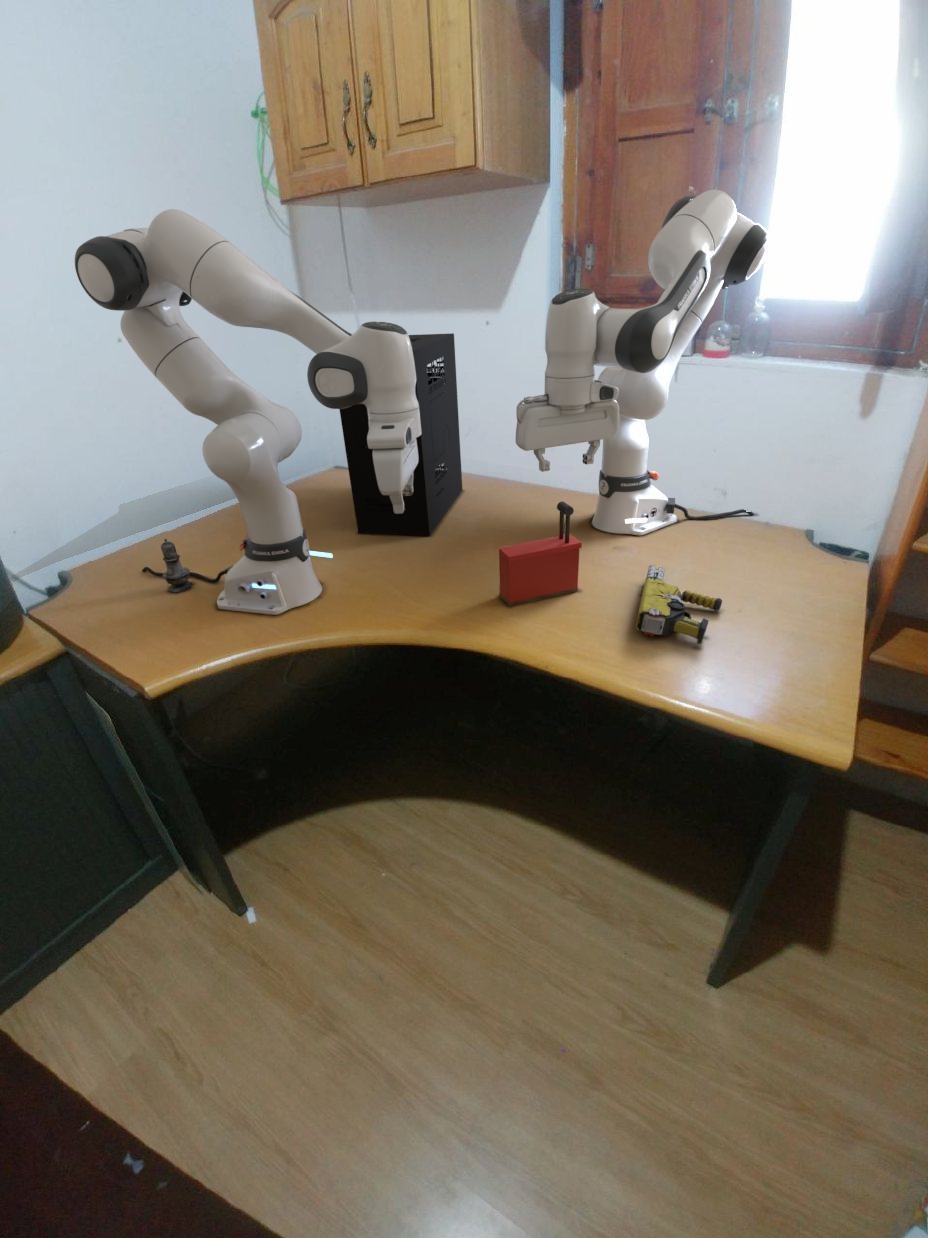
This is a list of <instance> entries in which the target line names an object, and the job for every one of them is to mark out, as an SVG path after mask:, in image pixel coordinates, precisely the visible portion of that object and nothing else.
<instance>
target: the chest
mask: <svg viewBox="0 0 928 1238" xmlns="http://www.w3.org/2000/svg"><path fill="white" fill-rule="evenodd" d="M579 565H580V548H579V549H574V550H569V551H564V552H559V553H554V554H549V555H544V556H539V557H534V558H529V559H524V560H519V561H514V562H508V561H507V560H506V559H505V558H503V557H502V556H501V555H500V554H499V553H498V569H499V570H498V572H499V597H500V598H501V599H502V600H503V602H504V603H505V604H506V605H507V606H508V607H509V608H510V607H513V606H518V605H522V604H527V603H532V602H536V601H540V600H544V599H549V598H554V597H558V596H563V595H568V594H572V593H577V592H578V591H579V588H578V585H579V569H580V566H579Z"/></svg>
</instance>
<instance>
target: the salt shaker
mask: <svg viewBox="0 0 928 1238" xmlns="http://www.w3.org/2000/svg"><path fill="white" fill-rule="evenodd" d="M163 541H164V542H163V543H161V545H160V549H161V552H162V555H163V558H162V561H163V562H165V567H166V571H165V572H163V573H164V574H163V575H162V576H161V577H162V578H163V579H164V580H165V582H166V583H168V585H170V586H168V591H169V592H171V593H180V592H184V591H187V590H190V589H191V588H192V587H193V585H194V584H193V582H192V581H189V579H190V576H189V575H190V574H189V572H191V569H190V568H188V567H184V566H183V565H182V563H181V560H180V557H181V555H180V554H178V552H177V548H176V546H175V543H174V542H172V541H169V540H168V539H167V538H164V540H163Z"/></svg>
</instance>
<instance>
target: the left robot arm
mask: <svg viewBox="0 0 928 1238" xmlns="http://www.w3.org/2000/svg"><path fill="white" fill-rule="evenodd" d="M74 269H75V273H76V276H77V279H78V282H79V283H80V285H81V287H82V289H83V290H84V292H85V294H87V296H88V297H89V298H90V299H91V300H92V301H93V302H95V303H96V304H97V305H98V306H100V307H102V308H104V309H106V310H108V311H109V310H110V311H120V312H121V311H123V312H122V315H121V318H120V325H119V326H120V331H121V333H122V335H123V337H124V338H125V340H126V342H127V343H128V344H129V346H130V347H131V349H132V350H133V352H134V353H135V354H136V355H137V358H138V359H140V361H141V362H142V363H143V365H144V366H145V368H147V369H148V370H149V372H150V373H151V374H152V375H153V376H154V377H155V378H156V379H157V380H158V381H159V383H160V384H161V385H163V387H165V389H166V390H167V391H168V392H169V393H170V394H171V395H172V397H174V398H175V399H176V400H177V402H179V404H180V405H181V406H182V407H183V408H184V409H185V410H187V412H189V413H191V414H193V415H194V416H198V417H202V418H204V419H206V420H208V421H210V422H212V423H214V424H215V425H217V426H215V427H214V428H213V429H212V430H211V431H210V432H209V433H208V434H207V435H206V436H205V438H204V440H203V442H202V446H201V450H202V457H203V460H204V463H205V465H206V466H207V468H208V469H209V470H210V472H211V473H212V474H213V475H214V476H216V477H217V478H218V479H220V480H223V482H225V483H226V484H227V485H228V486H229V488H230V489H231V491H232V492H233V495H234V496H235V497H236V499H237V501H238V503H239V507H240V509H241V512H242V516H243V519H244V523H245V527H246V530H247V531H246V532H247V534H246V537H245V538H244V539H243V540H242V541H241V542H242V543H240V545H239V546H238V548H240V549H239V551H240V552H242V551H243V550H244V554H243V555H242V556H241V557H240V558H239V559H238V560H237V561H236V562H235V563H234V564H232V565H230V566H228V567H227V568H224V570H222V571H220V572H219V573H218V574H217V575H216V577H215V578H209V577H207V576H204V575H203V574H200V573H197V572H193V571H190V572H189V574H190V575H189V577H190V576H191V577H196V578H198V579H201V580H203V581H205V582H208V583H211V584H213V583H214V584H215V583H218V582H219V581H220V580H221V578H222V577H223V576H224V575H225V576H224V582H223V583H224V586H223V588H224V589H223V590H222V591H221V592H220V593H219V595H218V596H217V599H216V607H217V609H219V610H226V611H235V612H244V613H252V614H253V613H254V614H263V615H272V616H277V615H281V614H282V613H285V612H286V611H288V610H291V609H294V608H297V607H301V606H303V605H306V604H309V603H310V602H313V601H314V600H315V599H317V598H318V597H320V595H321V594H322V592H323V586H322V584H321V582H320V580H319V578H318V577H317V574H316V571H315V569H314V567H313V564H312V560H311V558H310V557H311V556H315V557H323V558H328V559H329V558H330V559H333V556H334V555H333V553H331V552H322V551H314V550H310V544H309V540H308V537H307V533H306V530H305V528H303V522H302V518H301V512H300V508H299V502H298V498H297V495H296V493H294V491H292V490H291V489H290V488H287V487H286V485H285V483H284V481H283V479H282V477H281V475H280V471H279V467H278V465H279V464H280V463H281V462H283V461H285V460H286V459H288V458H289V457H290V456H291V455H293V453H294V452H295V451H296V449H297V448H298V446H299V445H300V443H301V441H302V439H303V437H302V436H303V429H302V424H301V421H300V420H299V418H298V417H297V415H296V414H295V413H294V412H293V411H292V410H291V409H289V408H288V407H285V406H283V405H280V404H278V403H275V402H273V401H271V400H270V399H268V398H267V397H266V396H264V395H262V394H261V393H260V392H258V391H257V390H256V389H254V388H253V387H251V386H250V385H249V384H248V383H246V382H245V381H244V380H242V379H241V378H240V377H239V376H237V375H236V374H235V373H234V372H233V371H232V370H231V369H230V368H229V367H228V366H227V365H226V364H225V363H224V362H223V361H222V359H221V358H220V357H219V356H218V355H217V354H216V353H215V352H214V351H213V350H212V349H211V348H210V347H209V346H208V344H206V342H205V341H204V340H203V339H202V338H201V337H200V336H199V335H198V334H197V333H196V332H195V331H194V329H192V327H190V325H189V324H188V322H187V321H186V320H185V319H184V317H183V315H182V312H181V308H180V307H186V306H188V305H190V303H191V302H192V300H193V301H194V302H195V303H196V304H197V305H199V306H200V307H202V308H203V309H204V310H205V311H207V312H208V313H210V315H212V316H214V317H216V318H218V319H220V320H221V321H223V322H224V323H227V324H229V325H231V326H234V327H241V328H243V327H244V328H252V329H262V330H263V329H264V330H269V331H274V332H278V333H282V334H285V335H286V336H287V335H288V336H289V337H291V338H292V339H295V340H296V341H298V342H299V343H301V344H302V345H304V347H307V348H308V349H309V350H310V351H312V352H313V353H314V354H315V355H314V356H313V357H312V358H311V360H310V362H309V363H308V366H307V373H306V376H307V383H308V386H309V387H308V388H309V390H310V392H311V394H312V395H313V397H314V398H315V399H316V400H317V402H319V403H320V405H322V406H324V407H326V408H328V409H331V410H339V409H344V408H348V407H351V406H353V405H356V404H364V405H365V406H366V407H367V412H368V419H369V431H368V435H367V444H368V448H369V449H373V463H374V468H375V473H376V478H377V483H378V487H379V490H380V492H381V494H382V495H389V496H390V499H391V502H392V504H393V510H394V513H396V514H400V513H403V512H404V510H405V504H404V501H403V497H402V494H403V495H404V496H411V495H412V494H413V492H414V491H413V472H414V470H415V468H416V466H417V464H418V460H419V457H418V448H417V441H416V438H417V437H419V436H420V435H421V434H422V432H421V422H420V411H419V403H418V400H417V398H416V393H415V386H416V370H415V362H414V356H413V350H412V345H411V341H410V338H409V335H410V334H409V332H407V330H406V329H405V328H404V327H403V326H401V325H398V324H396V323H391V322H387V321H367V322H364V323H362V324H360V326H359V327H358V329H356V331H355V332H354V333H350V332H349V331H347V330H346V329H344V328H343V327H341V326H340V325H338V324H337V323H336V322H335V321H333V320H332V319H331V318H329V317H328V316H326V315H325V314H323V313H322V312H321V311H320V310H318V309H317V308H315V307H314V306H313V305H311V304H310V303H309V302H307V301H306V300H305V299H303V298H302V297H300V296H299V295H298V294H297V293H295V292H293V291H291V290H290V289H289V288H287V287H286V286H285V285H284V284H283V283H282V282H280V281H278V279H276V278H274V277H273V276H272V275H270V274H269V273H268V272H267V271H266V270H265V269H263V268H262V267H261V266H260V265H258V264H257V263H256V262H255V261H254V260H253V259H251V258H250V257H249V256H248V255H246V254H245V253H244V252H243V251H242V250H240V249H239V248H238V247H237V246H236V245H235V244H233V243H232V242H231V241H230V240H228V239H227V238H226V237H224V236H223V235H222V234H221V233H219V232H218V231H216V230H215V229H213V228H212V227H210V226H209V225H208V224H206V223H205V222H203V221H201V220H200V219H198V218H196V217H194V216H193V215H191V214H189V213H187V212H185V211H183V210H181V209H174V208H170V209H166V210H163V211H161V212H159V213H158V214H157V215H155V216H154V218H153V219H152V220H151V222H150V225H149V226H148V227H135V228H127V229H123V230H122V231H118V232H113V233H110V234H108V235H105V236H103V235H99V236H95V237H92V238H90V239H88V240H86V241H85V242H83V243H82V244H81V245H79V247H78V248H77V249H76V251H75V254H74ZM141 572H142V573H146V572H148V573H149V574H151V575H153V576H155V577H163V576H162V575H163V574H164V573H165V572H157V571H155V570H153V569H152V568H150V567H148V566H144V567H143V568H142V570H141Z"/></svg>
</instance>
